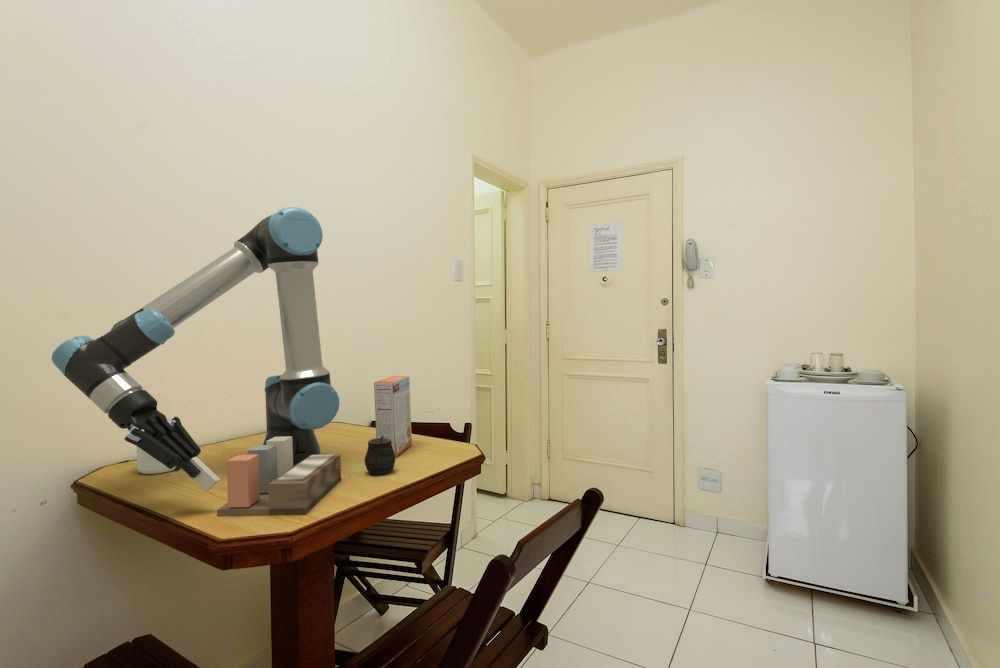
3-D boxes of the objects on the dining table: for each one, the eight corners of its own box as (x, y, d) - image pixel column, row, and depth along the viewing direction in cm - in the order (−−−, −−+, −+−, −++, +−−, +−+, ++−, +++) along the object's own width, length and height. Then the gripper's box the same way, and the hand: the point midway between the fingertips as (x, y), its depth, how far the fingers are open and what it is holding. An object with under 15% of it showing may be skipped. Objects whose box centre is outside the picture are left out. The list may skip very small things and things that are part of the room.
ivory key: (276, 475, 116) (275, 436, 116) (293, 474, 116) (292, 436, 116) (267, 481, 112) (266, 441, 112) (285, 480, 112) (283, 440, 112)
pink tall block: (240, 499, 100) (238, 454, 100) (259, 499, 100) (258, 454, 100) (228, 507, 96) (226, 460, 96) (248, 507, 96) (247, 460, 96)
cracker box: (393, 445, 149) (391, 375, 149) (412, 445, 149) (410, 375, 148) (375, 458, 135) (372, 381, 135) (396, 458, 135) (394, 380, 134)
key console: (268, 481, 117) (267, 454, 117) (341, 480, 117) (340, 452, 116) (217, 515, 96) (215, 482, 96) (305, 514, 96) (304, 481, 95)
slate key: (259, 486, 108) (258, 445, 108) (277, 486, 108) (276, 444, 108) (249, 493, 104) (247, 450, 104) (268, 492, 104) (267, 449, 104)
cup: (192, 463, 134) (191, 426, 133) (169, 475, 124) (167, 434, 123) (154, 464, 133) (153, 427, 133) (127, 476, 123) (126, 435, 123)
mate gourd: (389, 466, 127) (388, 427, 127) (400, 473, 121) (400, 432, 121) (361, 471, 123) (360, 431, 123) (371, 479, 117) (371, 436, 117)
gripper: (137, 409, 104) (219, 487, 105) (85, 422, 91) (178, 511, 92) (161, 384, 104) (243, 462, 104) (112, 392, 91) (206, 482, 91)
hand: (213, 485), depth 98 cm, fingers closed
